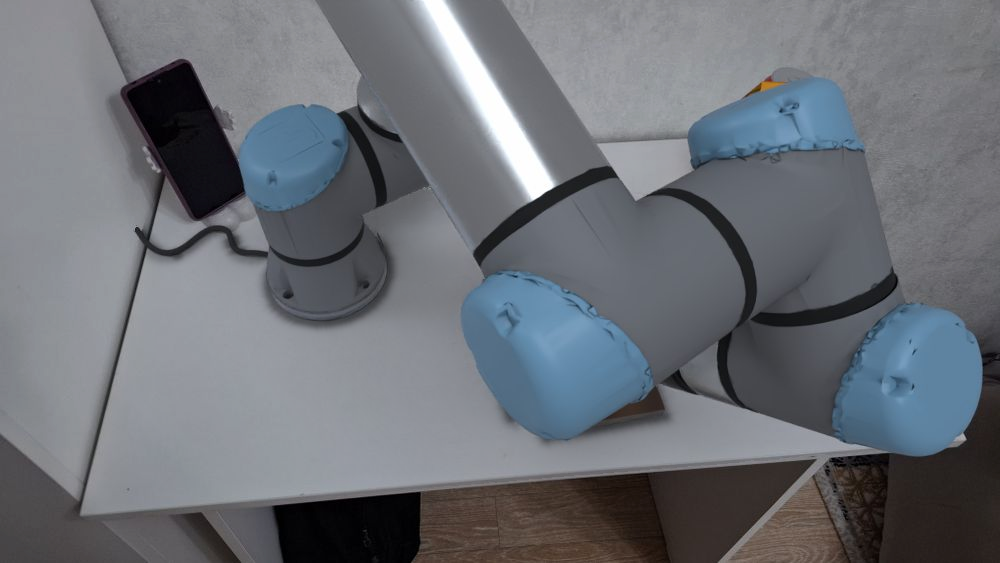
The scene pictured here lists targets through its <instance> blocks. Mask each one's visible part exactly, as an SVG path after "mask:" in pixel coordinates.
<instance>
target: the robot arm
mask: <svg viewBox="0 0 1000 563" xmlns="http://www.w3.org/2000/svg"><path fill="white" fill-rule="evenodd" d="M314 1H315V3H316V5H318V7H319V9H320V11H321V12H322V14H323V15H324V17H325V19H326V20H327V23H328V24H329V25H330V27H331V28H332V30H333V32H334V33H335V35H336V37H337V38H338V40H339V41H340V43H341V44H342V46H343V48H344V50H345V51H346V53H347V54H348V56H349V58H350V59H351V61H352V62H353V64H354V66H355V68H356V69H357V70H358V72H359V74H360V75H361V76H360V77H359V80H358V82H357V86H356V102H357V104H356V105H355V106H351V107H349V108H347V109H344V110H341V111H339V112H335V111H334V110H332V109H331V108H329V107H327V106H325V105H324V106H323V105H320V104H315V103H311V104H310V105H309V106H306V105H304V104H303V103H297V104H292V105H287V106H284V107H281V108H278V109H276V110H274V111H272V112H270V113H268V114H266V115H265V116H263V117H262V118H261V119H259V120H258V121H257V122H256V123H255V124H253V125H252V126H251V128H249V130H248V131H247V132H246V134H245V136H244V140H243V141H242V142H241V144H240V146H239V150H238V159H237V160H238V161H237V162H238V167H239V170H240V174H241V178H242V182H243V190H244V192H245V194H246V196H247V198H248V199H249V201H250V202H251V204H252V206H253V208H254V211H255V214H256V217H257V218H258V221H259V224H260V227H261V229H262V232H263V234H264V236H265V240H266V241H267V244H268V249H267V250H268V251H267V250H259V249H242V248H240V247H238V246H237V244H236V242H235V238H234V235H233V233H232V231H231V229H230V228H228V227H227V226H225V225H221V224H217V225H216V224H214V225H209V226H207V227H205V228H203V229H201V230H200V231H198V232H197V233H196V234H194V235H193V236H192V237H191V238H189V239H188V240H187V241H186V242H184V243H183V244H181V245H179V246H177V247H175V248H172V249H164V248H163V249H162V248H159V247H157V246H155V244H152V242H151V241H150V240H149V239H148V237H146V235H145V234H144V232H143V231H142V229H141V228H140V227H139V226H138V227H136V228H135V231H134V233H135V234H136V236H137V237H138V238H139V240H140V241H141V243H142V244H143V245H144V246H145V247H146V248H147V249H149V251H151V252H153V253H155V254H157V255H160V256H174V255H177V254H180V253H181V252H182V253H183V252H185V251H186V250H187V249H189V248H190V247H191V246H193V245H194V244H195V243H197V242H198V241H200V239H201V238H203V237H205V236H206V235H207V234H209V233H212V232H223V233H224V234H225V235H226V238H227V242H228V245H229V247H230V249H231V250H232V251H233V252H234V253H236V254H238V255H240V256H255V257H264V258H267V262H266V270H265V274H266V275H265V276H266V277H265V278H266V282H267V285H268V287H269V290H270V292H271V294H272V297H273V298H274V300H275V301H276V303H277V304H278V305H279V307H281V308H282V309H283V310H284V311H286V312H288V313H289V314H290V315H293V316H296V317H298V318H301V319H305V320H310V321H331V320H338V319H340V318H344V317H347V316H350V315H352V314H355V313H356V312H358V311H360V310H361V309H363V308H365V307H366V306H367V305H368V304H370V303H371V302H372V301H373V300H374V299H375V298H376V297H377V296H378V294H379V293H380V291H381V290H382V288H383V286H384V284H385V281H386V278H387V272H388V271H387V270H388V268H387V267H388V266H387V265H388V264H387V259H386V254H385V253H387V249H386V246H385V244H384V242H383V240H382V238H381V236H380V234H379V232H378V230H376V231H375V232H376V235H377V237H376V235H375V234H374V233H373V231H372V230H371V229H370V227H369V225H367V224H366V222H365V221H364V215H365V214H368V213H370V212H372V211H374V210H377V209H379V208H380V207H381V208H382V207H383V206H385V205H388V204H390V203H392V202H394V201H397V200H399V199H401V198H403V197H405V196H408V195H410V194H413V193H415V192H417V191H419V190H422V189H424V188H426V187H427V188H428V187H430V189H431V191H432V192H433V194H434V195H435V197H436V199H437V200H438V202H439V204H440V205H441V206H442V209H443V210H444V212H445V213H446V215H447V216H448V218H449V220H450V221H451V223H452V224H453V226H454V227H455V229H456V231H457V232H458V235H459V236H460V237H461V239H462V241H463V242H464V244H465V246H466V247H467V249H468V250H469V252H470V254H471V256H472V257H473V258H474V260H475V262H476V264H477V266H478V267H479V269H480V271H481V273H482V275H483V277H484V278H482V281H481V282H482V283H480V284H479V285H477V286H476V287H474V288H472V289H471V290H470V291H469V292H468V293H467V294H466V297H465V298H464V300H463V302H462V305H461V308H460V310H461V311H460V324H461V329H462V334H463V338H464V340H465V343H466V345H467V346H466V347H468V349H469V351H470V353H471V354H472V356H473V358H474V360H475V367H476V369H477V372H478V373H479V376H480V377H481V379H482V381H483V382H484V383H485V385H486V387H487V388H488V390H489V391H490V393H491V394H492V396H493V397H494V399H495V400H496V401H497V402H498V404H499V405H500V406H501V408H502V409H503V410H504V411H505V412H506V413H507V415H509V417H511V418H512V420H514V422H516V423H517V424H519V426H521V427H522V428H523V429H524V430H526V431H528V432H529V433H531V434H533V435H534V436H537V437H540V438H542V439H544V440H545V439H546V440H550V441H551V440H553V441H569V440H572V439H573V438H576V437H577V436H579V435H581V434H582V433H584V432H586V431H587V430H588V429H591V428H593V427H592V426H593V425H595V424H597V423H598V422H600V421H601V420H603V419H605V418H606V417H608V416H609V415H611V414H613V413H614V412H616V411H617V410H619V409H621V408H622V407H624V406H625V405H627V404H629V403H631V404H632V403H636V402H639V401H641V400H643V399H644V398H645V397H646V396H647V395H648V393H649V392H650V391H651V390H652V389H653V388H654V387H655V386H656V387H657V386H658V385H663V386H666V387H668V388H671V389H675V390H678V391H681V392H684V393H688V394H691V395H695V396H701V397H704V398H706V399H710V400H712V401H713V400H714V401H716V402H719V403H723V404H726V405H729V406H733V407H737V408H740V409H743V410H747V411H750V412H752V413H755V414H759V415H763V416H766V417H770V418H773V419H775V420H779V421H780V422H781V421H782V422H785V423H788V424H791V425H794V426H797V427H800V428H803V429H806V430H809V431H812V432H815V433H818V434H821V435H824V436H828V437H831V438H834V439H836V440H838V441H840V442H842V443H844V444H846V445H850V446H851V445H857V446H862V447H866V448H870V449H874V450H879V451H882V452H887V453H893V454H897V455H903V456H907V457H908V456H909V457H926V456H932V455H936V454H937V453H940V452H942V451H944V450H946V449H947V448H949V447H950V446H951V445H952V444H953V442H954V441H955V440H956V439H957V438H958V437H960V436H961V435H963V433H965V431H966V429H967V428H968V427H969V425H970V423H971V422H972V419H973V417H974V416H975V414H976V411H977V408H978V405H979V402H980V398H981V393H982V389H983V388H982V386H983V358H982V355H981V350H980V345H979V343H978V340H977V337H976V336H975V335H974V333H973V332H972V331H970V330H969V329H967V328H966V323H965V322H964V320H963V319H962V318H961V317H959V315H957V314H955V313H954V312H953V311H949V310H946V309H944V308H940V307H934V306H929V305H927V304H925V303H923V302H921V303H919V302H918V301H917V302H913V301H910V303H909V302H907V301H906V299H905V296H904V294H903V289H902V286H901V283H900V279H899V276H898V274H896V272H895V270H894V266H893V260H892V257H891V253H890V249H889V246H888V241H887V237H886V233H885V229H884V226H883V222H882V221H883V220H882V217H881V214H880V209H879V206H878V201H877V198H876V194H875V190H874V186H873V181H872V178H871V174H870V170H869V166H868V162H867V158H866V147H865V145H864V142H862V141H861V140H860V138H859V136H858V133H857V130H856V127H855V125H854V121H853V119H852V116H851V113H850V110H849V107H848V103H847V101H846V98H845V95H844V92H843V89H842V88H841V86H840V85H838V83H836V82H835V81H833V80H831V79H830V78H826V77H821V76H814V77H811V78H805V79H800V80H796V81H792V82H789V83H786V84H782V85H779V86H776V87H773V88H770V89H767V90H764V91H761V92H759V93H756V94H753V95H751V96H748V97H745V98H743V97H742V98H743V99H742V98H740V99H737V100H735V101H732V102H731V103H729V104H726V105H724V106H722V107H720V108H717V109H715V110H713V111H710V112H708V113H707V114H705V115H703V116H701V118H700V119H698V120H697V121H695V122H693V124H692V125H691V126H690V127H689V129H688V132H687V135H686V136H687V137H686V138H687V146H688V151H689V155H690V160H689V163H690V166H691V167H692V169H693V170H692V171H690V172H687V173H686V174H684V175H682V176H681V177H679V178H677V179H675V180H673V181H671V182H669V183H667V184H665V185H664V186H662V187H660V188H658V189H656V190H654V191H651V192H650V193H648V194H646V195H644V196H643V197H641V198H639V199H637V200H636V198H635V197H634V196H633V194H632V193H631V191H630V190H629V189H628V188H627V186H626V185H625V183H624V181H622V180H621V178H620V177H619V175H618V174H617V172H616V170H615V169H614V168H613V166H612V165H611V163H610V162H609V160H608V158H607V157H606V156H605V154H604V152H603V151H602V150H601V148H600V147H599V145H598V144H597V142H596V141H595V139H594V138H593V136H592V134H591V133H590V132H589V130H588V128H587V127H586V125H585V124H584V123H583V121H582V120H581V118H580V116H579V115H578V113H577V112H576V110H575V109H574V107H573V106H572V104H571V103H570V102H569V100H568V98H567V96H566V95H565V94H564V92H563V91H562V89H561V88H560V86H559V85H558V82H556V81H555V79H554V77H553V76H552V74H551V73H550V71H549V69H548V68H547V67H546V65H545V63H544V62H543V61H542V58H541V57H540V56H539V55H538V53H537V51H536V50H535V48H534V47H533V46H532V43H531V42H530V41H529V39H528V38H527V36H526V35H525V33H524V32H523V30H522V29H521V27H520V26H519V25H518V22H517V21H516V20H515V18H514V16H513V15H512V14H511V12H510V11H509V9H508V7H507V6H506V5H505V3H504V1H503V0H314ZM590 427H591V428H590Z"/></svg>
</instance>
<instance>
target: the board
mask: <svg viewBox="0 0 1000 563" xmlns="http://www.w3.org/2000/svg"><path fill="white" fill-rule="evenodd" d="M665 411H666V407H665V405H664V402H663V399H662V396H661V395H660V392H659V389H658V386H657V385H656V386H655V387H654V388H653V389H652V390H651V391H650V392H649V393H648V395H647V396H646V397H645V398H644V399H643V400H641V401H639V402H636V403H632V404H631V403H629V404H627V405H625V406H624V407H622V408H621V409H619V410H617V411H616V412H614V413H613V414H611V415H609V416H608V417H606V418H605V419H603V420H601V421H600V422H598V423H597V424H595V425H593V426H592V427H590V428H589V429H591V428H596V427H602V426H607V425H612V424H620V423H624V422H630V421H636V420H642V419H648V418H652V417H658V416H663V414H664V413H665Z"/></svg>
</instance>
